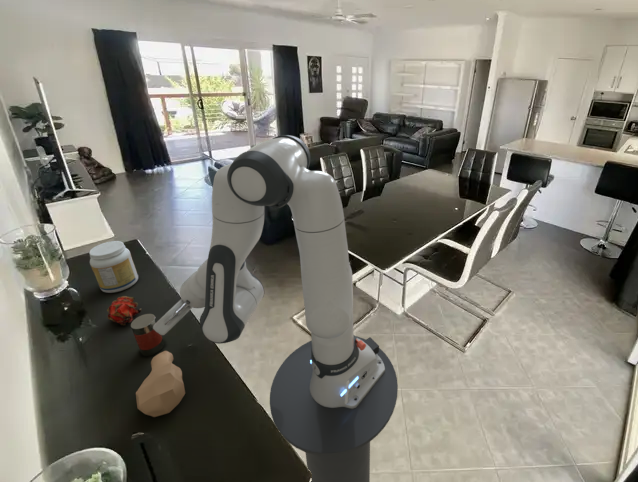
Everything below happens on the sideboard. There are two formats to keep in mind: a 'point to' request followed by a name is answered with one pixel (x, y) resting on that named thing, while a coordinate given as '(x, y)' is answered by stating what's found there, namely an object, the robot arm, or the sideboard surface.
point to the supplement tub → (113, 266)
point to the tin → (147, 335)
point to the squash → (161, 387)
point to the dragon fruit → (123, 310)
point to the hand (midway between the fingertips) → (175, 313)
